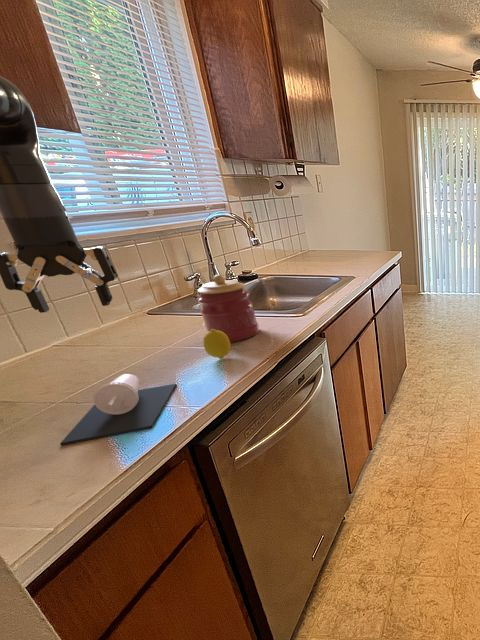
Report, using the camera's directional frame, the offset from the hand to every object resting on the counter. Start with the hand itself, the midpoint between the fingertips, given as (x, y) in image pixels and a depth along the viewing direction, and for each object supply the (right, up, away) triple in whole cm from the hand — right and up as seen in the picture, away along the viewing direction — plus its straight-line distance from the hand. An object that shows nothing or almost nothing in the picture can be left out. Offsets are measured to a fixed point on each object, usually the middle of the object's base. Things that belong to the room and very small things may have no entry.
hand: (76, 308), depth 73 cm
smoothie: (0, -14, +11) cm, 18 cm away
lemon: (+8, -9, +28) cm, 31 cm away
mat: (+4, -20, +6) cm, 21 cm away
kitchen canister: (+2, -2, +44) cm, 44 cm away
